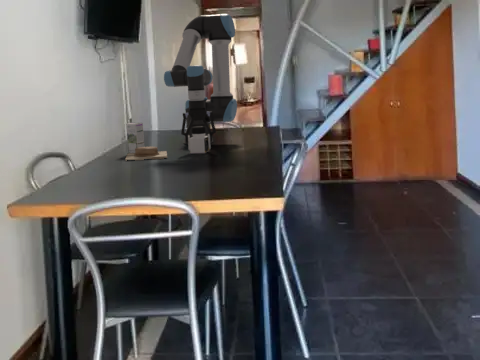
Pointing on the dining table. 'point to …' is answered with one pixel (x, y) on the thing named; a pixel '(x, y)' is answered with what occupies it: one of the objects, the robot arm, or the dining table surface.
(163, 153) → the base board
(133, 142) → the syrup box
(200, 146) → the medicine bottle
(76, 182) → the dining table surface
